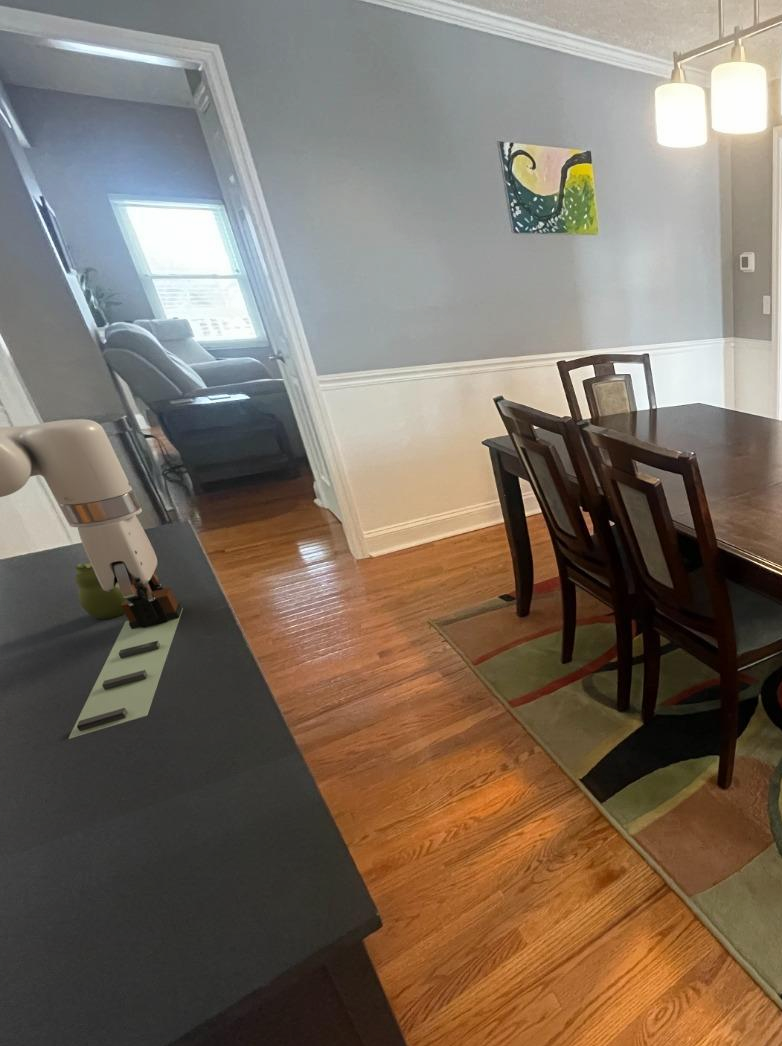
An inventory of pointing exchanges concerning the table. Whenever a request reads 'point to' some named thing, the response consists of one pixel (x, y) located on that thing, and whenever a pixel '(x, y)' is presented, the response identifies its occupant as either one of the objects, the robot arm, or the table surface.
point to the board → (136, 693)
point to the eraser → (166, 601)
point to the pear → (97, 594)
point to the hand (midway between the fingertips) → (156, 617)
